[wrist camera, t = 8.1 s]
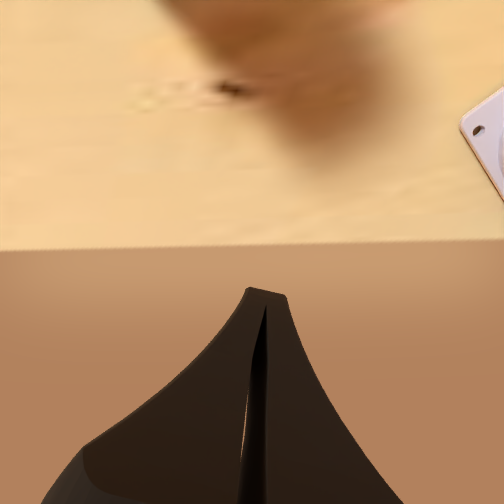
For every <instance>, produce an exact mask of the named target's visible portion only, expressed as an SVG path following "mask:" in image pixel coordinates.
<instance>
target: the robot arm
mask: <svg viewBox="0 0 504 504" xmlns="http://www.w3.org/2000/svg"><path fill="white" fill-rule="evenodd" d="M479 125H480V126H481V130H480V132H479V133H478V134H476V135H473V133H472V132H473V130H474V129H475V128H476V127H477V126H479ZM459 128H460V130H461V132H462V133H463V135H464V137H465V138H466V140H467V142H468V143H469V145H470V146H471V148H472V150H473V151H474V153H475V155H476V156H477V158H478V159H479V161H480V163H481V164H482V166H483V168H484V169H485V171H486V172H487V174H488V176H489V177H490V179H491V181H492V182H493V184H494V186H495V187H496V189H497V190H498V192H499V194H500V195H501V197H502V199H503V200H504V86H503V87H502V88H500V89H499V90H498V91H496V92H495V93H493V94H492V95H491V96H489V97H488V98H486V99H485V100H484V101H482V102H481V103H480V104H478V105H477V106H475V107H474V108H473V109H471V110H470V111H469V112H467V113H466V114H465V115H464V116H463V117H462V118H461V120H460V122H459ZM248 387H249V388H248ZM247 395H248V402H247ZM246 404H247V415H246V427H245V436H244V443H243V450H242V456H241V449H242V440H243V431H244V421H245V412H246ZM240 461H241V462H240ZM41 504H403V502H402V501H401V500H400V499H399V498H398V496H396V494H395V493H394V492H393V490H392V489H391V488H390V487H389V486H388V484H387V483H386V482H385V481H384V479H383V478H382V477H381V476H380V474H379V473H378V472H377V470H376V469H375V467H374V466H373V465H372V463H371V462H370V461H369V459H368V458H367V457H366V456H365V454H364V452H363V451H362V449H361V448H360V447H359V445H358V444H357V442H356V441H355V439H354V438H353V436H352V435H351V433H350V432H349V430H348V429H347V427H346V426H345V425H344V423H343V422H342V420H341V419H340V417H339V415H338V414H337V412H336V410H335V409H334V407H333V405H332V404H331V402H330V401H329V399H328V397H327V395H326V393H325V391H324V390H323V388H322V386H321V384H320V382H319V380H318V378H317V376H316V374H315V372H314V370H313V368H312V366H311V364H310V362H309V360H308V358H307V355H306V353H305V351H304V348H303V346H302V344H301V341H300V338H299V336H298V333H297V330H296V328H295V325H294V322H293V319H292V316H291V313H290V309H289V305H288V301H287V298H286V296H285V295H283V294H279V293H275V292H270V291H265V290H262V289H257V288H253V287H248V288H246V290H245V293H244V295H243V297H242V299H241V301H240V303H239V304H238V306H237V308H236V309H235V311H234V312H233V314H232V315H231V316H230V318H229V319H228V321H227V322H226V323H225V325H224V326H223V327H222V329H221V330H220V331H219V332H218V334H217V335H216V336H215V337H214V338H213V340H212V341H211V342H210V343H209V344H208V345H207V346H206V348H205V349H204V350H203V351H202V352H201V353H200V354H199V355H198V356H197V357H196V358H195V359H194V360H193V361H192V362H191V363H190V364H189V365H188V366H187V367H186V368H185V369H184V370H183V371H182V372H181V373H180V374H178V375H177V376H176V377H175V378H174V379H173V380H172V381H171V382H170V383H168V384H167V385H166V386H165V387H164V388H163V389H162V390H160V391H159V392H158V393H157V394H155V395H154V396H153V397H151V398H150V399H149V400H148V401H146V402H145V403H144V404H143V405H141V406H140V407H139V408H137V409H136V410H135V411H134V412H132V413H131V414H130V415H128V416H127V417H125V418H124V419H123V420H121V421H120V422H118V423H117V424H115V425H114V426H113V427H111V428H110V429H108V430H107V431H105V432H104V433H102V434H101V435H99V436H98V437H96V438H95V439H93V440H92V441H91V442H89V443H88V444H86V445H85V446H84V447H82V448H81V450H80V451H79V452H78V453H77V454H76V456H75V457H74V458H73V459H72V460H71V462H70V463H69V464H68V465H67V467H66V468H65V469H64V471H63V472H62V473H61V474H60V476H59V477H58V479H57V480H56V481H55V483H54V484H53V486H52V487H51V488H50V490H49V491H48V493H47V494H46V496H45V497H44V499H43V501H42V503H41Z"/></svg>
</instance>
